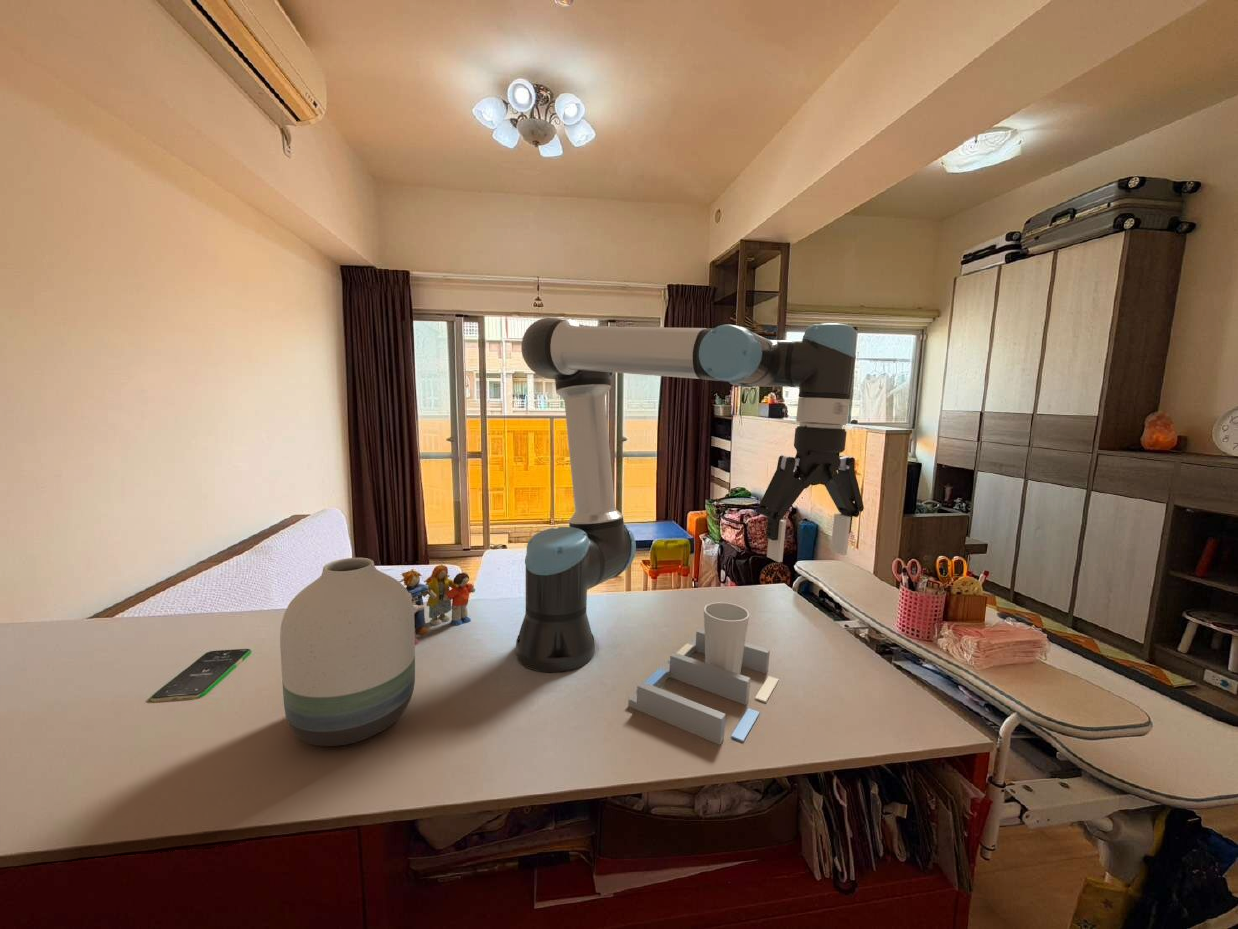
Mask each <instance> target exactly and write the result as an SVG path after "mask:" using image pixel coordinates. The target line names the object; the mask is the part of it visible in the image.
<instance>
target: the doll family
mask: <svg viewBox="0 0 1238 929" xmlns="http://www.w3.org/2000/svg"><path fill="white" fill-rule="evenodd" d="M400 576H401V577H403V578H402V579H401V580H398V581H399V582H400V583H403V586H406V587H405V588H406V590H407V591H408V593H409V595H410V597H411V600H412V603H413V608H414V624H415V637H416V636H417V634H418V635H423V634H425V633H427V632H428V631H429V630H428V628H427V627H425V626H426V617H425V604H424V600H423V597H424V598H425V597H426V596H427V595H428V598H427V601H426V607H429V608H428V609H429V610H428V618H429V619H430V621H429V624H431V625H434V626H439V625H441V624H442V623H445V622H449V621H450V620H451V621H450V624H451V625H452V626H456V627H457V626H460V625H462V624H469V623H471V621H472V619H471V618H470V617H469V613H468V604H469V598H470V594H471V593H472V594H473V593H475V592H476V589H475V586H474V585H475V584H473V583H468V582H469V579H470V575H468V574H467V572H459V573H457V574H456V575H455V577H453V579H451V578H450V576H451V575H449V570H448V566H446V565H443V564H440V565H436V566H435V567H434V569H433V570H432V572H431V575H430V576H429V577H427V579H425V580H424V581H423V583H425V584H423V583H420V581H421V580H420V579H421V578H420V577H422V574H421V573H420V572H418V571H417V570H414V568H411V570H407V571H406V572H402V573H401V574H400ZM450 588H451V589H450ZM449 612H451V618H450V617H449V616H448V615H446V614H447V613H449ZM418 644H419V639H417V638H415V646H416V645H418Z"/></svg>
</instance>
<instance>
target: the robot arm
mask: <svg viewBox="0 0 1238 929" xmlns="http://www.w3.org/2000/svg"><path fill="white" fill-rule="evenodd" d="M856 344H857V331H856V329H855V328H854V327H853V326H851V325H849V324H846V323H845V324H844V323H833V322H831V323H830V322H829V323H826V322H825V323H820V324H818V323H817V324H812V325H809V326H807V327H806V328H805V330H804V335H803V336H802V338H798V339H785V340H784V339H777V340H776V339H775V340H774V339H768V338H765V337H763V336H761V335H759V334H757V333H755V332H752V331H751V330H750V329H748V328H746V327H744V326H741V325H735V324H722V325H718V326H716V327H713V328H706V327H660V326H659V327H658V326H657V327H656V326H653V327H652V326H649V327H648V326H607V325H606V326H605V325H603V326H598V325H583V324H580V323H577V322H576V321H575V320H572V319H560V318H555V317H543V318H540V319H537V320H536V321H534V322H533V323H532V324H530V325H529V326H528V327H527V329H526V330H525V332H524V334H523V335H522V340H521V347H520V348H521V355H522V357H523V360H524V362H525V364H526V365H527V367H528V368H529V369H530V370H531V371H532V372H533V373H535V374H536V375H537V376H540V377H542V378H545V379H550V380H554V383H555V392H556V394H557V395H559V397H561V398H562V399H563V401H564V410H565V422H566V430H567V439H568V440H567V441H568V451H569V462H570V473H571V480H572V481H571V483H572V493H573V501H574V502H573V503H574V513H573V515H572V516H571V517H570V519H569V520H568V526H558V527H557V528H553V527H551V528H548V529H543V530H541V531H540V532H537V533H536V534H534V535H532V536H531V538H530V539H529V540H528V542H527V545H526V551H525V552H526V555H525V557H524V558H525V560H524V565H525V614H524V617H523V620H522V623H521V626H520V629H519V632H518V635H517V637H516V641H515V658H516V660H517V661H518V662H519V664H521V665H523V666H524V667H526V668H528V669H531V670H534V671H538V672H543V673H544V672H545V673H562V672H567V671H571V670H575V669H578V668H580V667H582V666H585V665H586V664H587V663H589V662H590V661H591V659H593V657H594V654H595V644H596V643H595V637H594V635H593V632H592V629H591V625H590V621H589V618H588V614H587V605H588V604H587V603H588V602H587V600H588V590H591V589H592V588H594V587H596V586H598V585H601V584H603V583H604V582H607V581H608V580H612V579H615V578H617V577H618V576H620V575H621V574H622V573H623V572H625V571H626V570H628V568H629V567H630V566H631V565H632V563H633V562H634V559H635V556H636V552H637V551H636V550H637V549H636V548H637V545H636V539H635V536H634V533H633V531H632V530H630V529H629V526H628V525H627V524H625V523H624V522H625V521H624V516H623V513H621V512H620V511H619V510H617V508H616V502H615V492H614V491H615V490H614V483H613V482H614V480H613V473H612V471H613V470H612V462H611V448H610V441H609V440H610V437H609V431H608V430H609V426H608V418H607V406H606V395H607V393H609V391H610V390H611V388H612V385H611V384H612V383H611V379H612V377H614V375H615V373H616V374H630V375H643V376H657V377H672V378H681V379H695V380H696V379H697V380H698V379H699V380H705V381H717V382H718V381H719V382H728V383H729V384H730V385H733V386H741V387H747V388H753V387H765V388H767V387H769V388H770V387H771V388H772V387H776V388H777V387H779V388H780V387H785V388H786V387H787V388H798V389H799V392H798V398H797V399H798V400H797V409H796V416H795V417H796V418H795V422H797V423H798V424H799V426H796V428H795V430H794V441H793V447H794V449H795V450H796V453H795V456H794V457H793V456H789V455H784V454H783V455H780V456H779V457H778V459H777V464H776V465H777V466H776V469H775V472H774V474H773V476H772V478H771V480H770V481H769V484H768V486H767V488H766V490H765V493H764V494H763V496H762V498H761V500H760V502H759V504H758V507H757V508H756V512H757V514H759V515H761V516H764V517H765V518H766V532H765V536H766V539H768V543H767V552H766V557H767V558H769V559H771V560H773V561H775V562H777V563H783V558H784V548H785V539H786V529H787V527H786V526H787V520H783V518H784V517H785V515H786V514H787V513H788V511H789V510H790V509H791V507H792V506H793V505H794V503H795V502H796V500H798V498H799V497H800V496H801V495H802V493H803V491H804V490H806V489H808V488H809V487H810V486H817V485H818V486H819V485H821V486H822V485H823V486H824V487H825V489H826V491H827V492H828V494H829V496H830V499H831V500H832V502H833V504H834V506H835V507H836V509H837V511H838V513H837V512H836V513H834V516H833V522H832V523H833V524H832V526H833V527H832V532H831V533H832V534H831V541H830V542H831V543H830V551H831V552H833V553H836V554H837V555H838V554H839V555H841V556H847V555H848V546H849V538H850V534H851V532H852V525H853V518H858V517H859V515H860V513H862V512H863V511H864V509H865V508H864V507H865V506H864V501H863V499H862V495H861V494H862V493H861V490H860V487H859V483H858V479H857V478H858V477H857V475H856V471H855V470H856V467H855V466H856V460H855V458H854V456H853V457H852V456H848V455H847V456H846V455H840V454H841V453H843V452H845V449H846V440H847V434H848V433H847V431H846V429H845V428H843V426H847V424H848V419H849V411H850V399H851V397H852V396H851V394H852V388H853V379H854V378H853V377H854V371H855V363H856V357H857V355H856Z"/></svg>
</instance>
